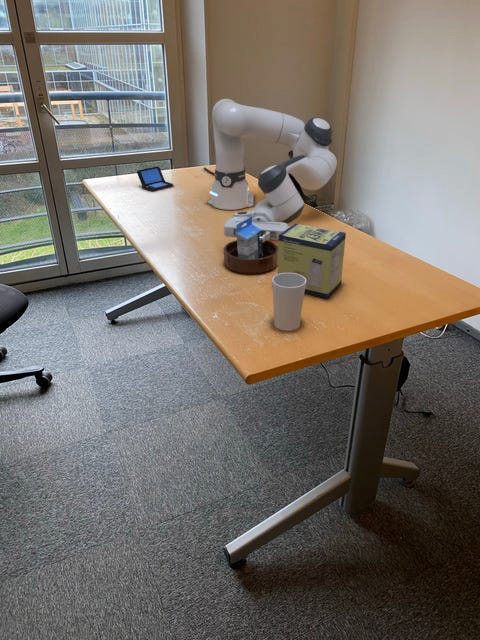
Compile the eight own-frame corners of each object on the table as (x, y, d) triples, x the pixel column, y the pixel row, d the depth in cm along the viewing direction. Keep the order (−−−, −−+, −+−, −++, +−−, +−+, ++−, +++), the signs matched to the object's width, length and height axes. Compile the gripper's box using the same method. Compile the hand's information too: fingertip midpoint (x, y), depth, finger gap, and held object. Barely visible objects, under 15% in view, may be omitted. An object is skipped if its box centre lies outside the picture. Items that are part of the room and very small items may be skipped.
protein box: (291, 272, 149) (294, 222, 141) (341, 284, 142) (347, 232, 134) (275, 286, 141) (277, 234, 133) (327, 299, 135) (332, 245, 127)
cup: (268, 316, 127) (270, 273, 121) (299, 315, 128) (302, 271, 122) (273, 333, 120) (274, 288, 114) (306, 331, 121) (309, 286, 115)
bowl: (231, 251, 163) (231, 236, 161) (281, 255, 160) (282, 240, 157) (218, 272, 149) (217, 257, 147) (272, 277, 146) (273, 262, 144)
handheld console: (151, 192, 220) (150, 175, 216) (137, 187, 227) (135, 170, 223) (174, 186, 228) (173, 169, 224) (160, 181, 234) (158, 165, 231)
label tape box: (248, 266, 150) (247, 226, 144) (237, 263, 152) (235, 224, 146) (263, 255, 156) (262, 217, 150) (252, 253, 158) (251, 215, 152)
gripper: (291, 235, 162) (285, 251, 151) (230, 230, 166) (219, 246, 155) (292, 216, 159) (286, 231, 148) (230, 212, 163) (218, 226, 152)
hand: (251, 239), depth 151 cm, fingers closed on label tape box, 5 cm apart
